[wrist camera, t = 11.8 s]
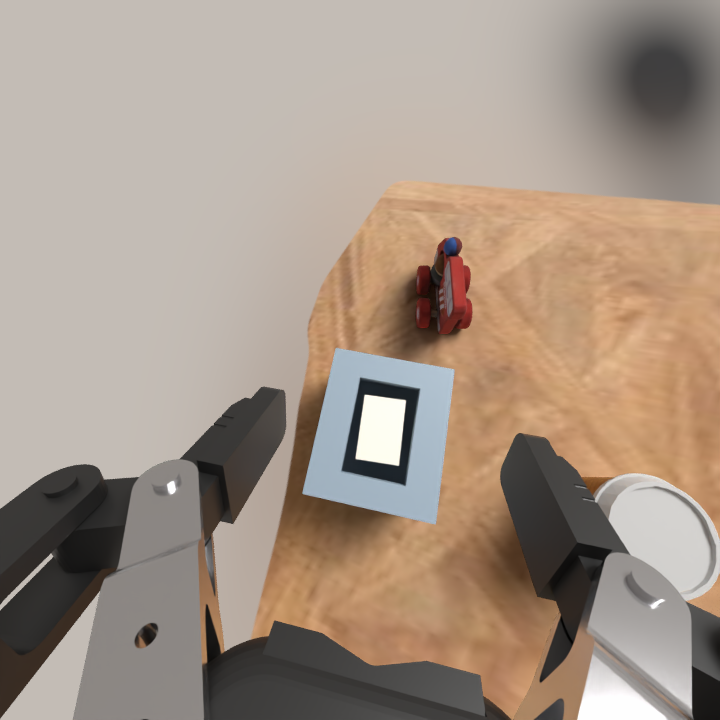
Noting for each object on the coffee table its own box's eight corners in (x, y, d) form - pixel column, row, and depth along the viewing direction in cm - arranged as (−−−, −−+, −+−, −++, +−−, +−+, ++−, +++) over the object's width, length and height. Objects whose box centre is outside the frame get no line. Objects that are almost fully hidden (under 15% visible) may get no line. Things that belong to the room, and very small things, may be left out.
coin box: (345, 371, 40) (335, 347, 30) (431, 387, 39) (454, 369, 28) (322, 477, 37) (302, 493, 26) (416, 498, 36) (435, 524, 25)
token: (391, 458, 36) (398, 465, 26) (359, 453, 36) (355, 458, 27) (397, 409, 38) (405, 400, 28) (366, 405, 38) (364, 394, 28)
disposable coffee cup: (510, 486, 36) (577, 510, 24) (573, 449, 36) (668, 454, 25) (559, 565, 33) (659, 634, 22) (625, 523, 34) (756, 568, 23)
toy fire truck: (461, 265, 44) (487, 213, 34) (465, 342, 41) (496, 311, 31) (414, 264, 44) (427, 213, 34) (415, 341, 41) (429, 310, 31)
